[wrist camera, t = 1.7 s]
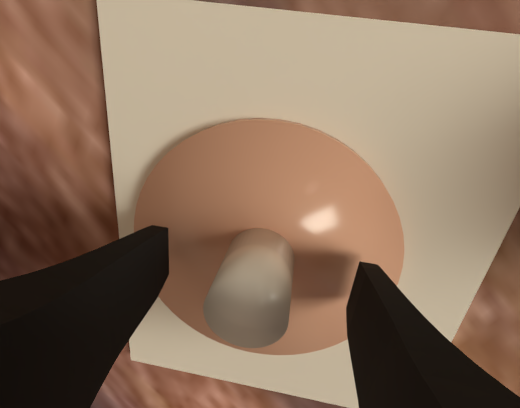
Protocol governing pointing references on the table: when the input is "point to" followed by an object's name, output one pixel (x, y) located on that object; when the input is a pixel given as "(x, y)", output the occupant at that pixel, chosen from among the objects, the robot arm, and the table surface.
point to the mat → (335, 124)
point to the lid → (268, 233)
